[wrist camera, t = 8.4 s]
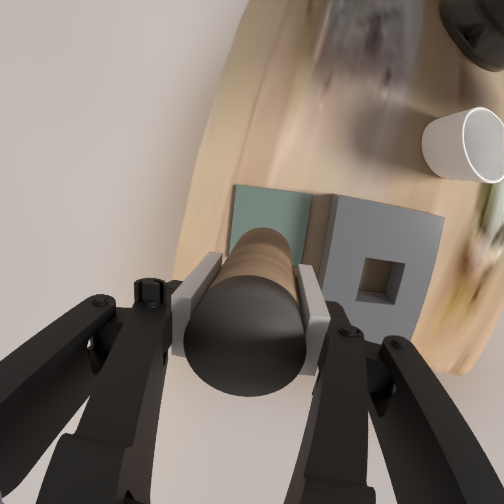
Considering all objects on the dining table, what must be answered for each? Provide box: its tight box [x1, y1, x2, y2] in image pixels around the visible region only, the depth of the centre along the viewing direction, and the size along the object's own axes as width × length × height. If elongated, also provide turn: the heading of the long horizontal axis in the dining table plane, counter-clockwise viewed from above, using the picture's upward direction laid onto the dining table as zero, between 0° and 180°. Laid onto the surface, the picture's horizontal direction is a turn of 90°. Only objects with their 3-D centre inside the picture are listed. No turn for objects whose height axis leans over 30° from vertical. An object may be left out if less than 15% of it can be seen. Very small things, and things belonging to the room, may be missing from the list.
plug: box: [183, 227, 307, 397], centre depth 16 cm, size 4×4×13 cm
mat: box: [229, 185, 312, 267], centre depth 35 cm, size 9×9×1 cm
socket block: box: [317, 194, 444, 344], centre depth 34 cm, size 18×14×4 cm
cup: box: [422, 107, 504, 183], centre depth 25 cm, size 8×12×10 cm
